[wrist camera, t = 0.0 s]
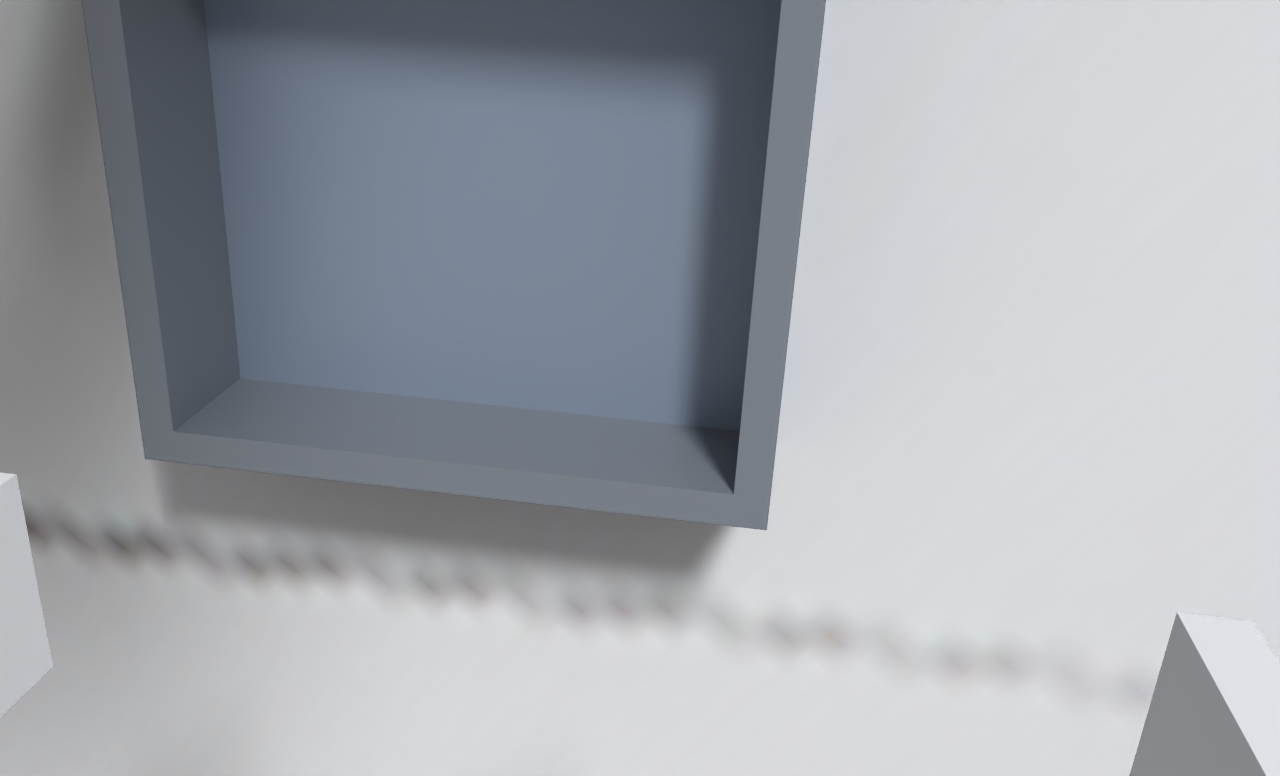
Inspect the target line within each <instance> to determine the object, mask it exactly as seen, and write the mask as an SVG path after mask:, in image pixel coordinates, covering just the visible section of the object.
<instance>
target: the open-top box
mask: <svg viewBox="0 0 1280 776" xmlns="http://www.w3.org/2000/svg"><path fill="white" fill-rule="evenodd" d="M825 3H826V0H82V5H83V13H84V20H85V27H86V34H87V42H88V49H89V56H90V63H91V71H92V78H93V85H94V92H95V100H96V107H97V114H98V121H99V129H100V136H101V143H102V150H103V157H104V165H105V172H106V179H107V186H108V194H109V201H110V208H111V215H112V223H113V230H114V237H115V244H116V252H117V259H118V266H119V273H120V281H121V288H122V295H123V302H124V310H125V317H126V324H127V331H128V339H129V346H130V353H131V360H132V368H133V375H134V382H135V389H136V397H137V404H138V411H139V418H140V426H141V433H142V440H143V447H144V454H145V459H152V460H160V461H169V462H178V463H186V464H195V465H204V466H212V467H221V468H230V469H239V470H247V471H256V472H265V473H273V474H282V475H291V476H300V477H308V478H317V479H326V480H334V481H343V482H352V483H360V484H369V485H378V486H387V487H395V488H404V489H413V490H421V491H430V492H439V493H447V494H456V495H465V496H474V497H482V498H491V499H500V500H508V501H517V502H526V503H534V504H543V505H552V506H561V507H569V508H578V509H587V510H595V511H604V512H613V513H621V514H630V515H639V516H648V517H656V518H665V519H674V520H682V521H691V522H700V523H708V524H717V525H726V526H735V527H743V528H752V529H761V530H767V523H768V514H769V505H770V496H771V487H772V478H773V469H774V460H775V451H776V442H777V433H778V424H779V415H780V406H781V397H782V388H783V379H784V371H785V362H786V353H787V344H788V335H789V326H790V317H791V308H792V299H793V290H794V281H795V272H796V263H797V254H798V245H799V236H800V227H801V218H802V209H803V200H804V191H805V183H806V174H807V165H808V156H809V147H810V138H811V129H812V120H813V111H814V102H815V93H816V84H817V75H818V66H819V57H820V48H821V39H822V30H823V21H824V12H825Z"/></svg>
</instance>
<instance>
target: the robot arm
mask: <svg viewBox="0 0 1280 776" xmlns="http://www.w3.org/2000/svg"><path fill="white" fill-rule="evenodd" d="M52 667H53V664H52V658H51V653H50V648H49V643H48V637H47V632H46V627H45V621H44V616H43V611H42V606H41V600H40V595H39V590H38V585H37V579H36V574H35V569H34V563H33V558H32V553H31V548H30V542H29V537H28V532H27V526H26V521H25V516H24V511H23V505H22V500H21V495H20V489H19V484H18V479H17V474H9V473H0V718H1V717H2V716H3V715H4V714H5V713H6V712H7V711H8V710H9V709H10V708H11V707H12V706H13V705H14V704H15V703H16V702H17V701H18V700H19V699H20V698H21V697H22V696H23V695H24V694H25V693H26V692H27V691H29V690H30V689H31V688H32V687H33V686H34V685H35V684H36V683H37V682H38V681H39V680H40V679H41V678H42V677H43V676H44V675H45V674H46V673H47V672H48V671H49V670H50V669H51V668H52ZM1130 776H1280V662H1279V660H1278V658H1277V657H1276V655H1275V654H1274V652H1273V651H1272V649H1271V648H1270V646H1269V645H1268V643H1267V642H1266V640H1265V638H1264V637H1263V635H1262V634H1261V632H1260V631H1259V629H1258V628H1257V626H1256V625H1255V623H1254V622H1253V621H1246V620H1238V619H1229V618H1221V617H1212V616H1204V615H1196V614H1187V613H1179V612H1177V614H1176V617H1175V621H1174V624H1173V628H1172V631H1171V635H1170V638H1169V642H1168V645H1167V648H1166V652H1165V655H1164V659H1163V662H1162V666H1161V669H1160V673H1159V676H1158V679H1157V683H1156V686H1155V690H1154V693H1153V697H1152V700H1151V704H1150V707H1149V711H1148V714H1147V717H1146V721H1145V724H1144V728H1143V731H1142V735H1141V738H1140V742H1139V745H1138V748H1137V752H1136V755H1135V759H1134V762H1133V766H1132V769H1131V773H1130Z"/></svg>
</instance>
